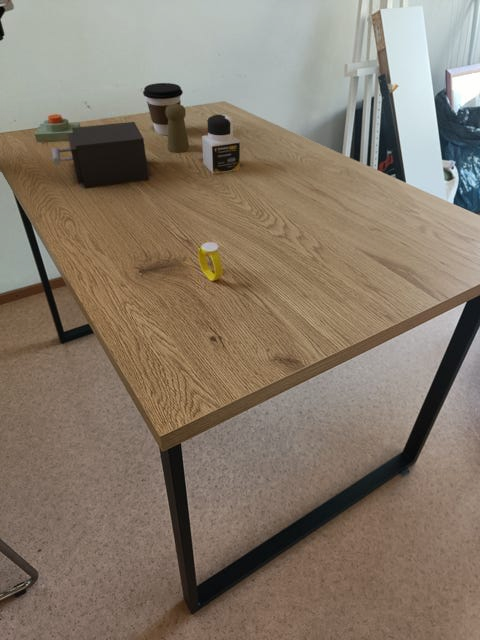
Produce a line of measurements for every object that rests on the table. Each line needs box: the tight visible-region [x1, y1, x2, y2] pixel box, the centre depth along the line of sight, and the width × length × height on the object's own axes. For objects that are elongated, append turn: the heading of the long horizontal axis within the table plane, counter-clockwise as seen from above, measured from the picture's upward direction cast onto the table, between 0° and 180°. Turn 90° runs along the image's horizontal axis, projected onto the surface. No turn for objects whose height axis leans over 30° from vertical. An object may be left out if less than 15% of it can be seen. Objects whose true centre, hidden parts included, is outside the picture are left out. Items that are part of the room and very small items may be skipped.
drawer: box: [51, 133, 84, 185], centre depth 105 cm, size 18×11×8 cm, turn 109°
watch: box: [197, 241, 223, 282], centre depth 75 cm, size 6×3×6 cm, turn 32°
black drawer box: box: [72, 121, 150, 189], centre depth 106 cm, size 15×13×10 cm
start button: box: [47, 113, 63, 124], centre depth 127 cm, size 4×4×2 cm
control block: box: [34, 117, 81, 143], centre depth 128 cm, size 11×9×4 cm
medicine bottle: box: [201, 114, 241, 175], centre depth 109 cm, size 7×7×12 cm
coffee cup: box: [142, 82, 184, 136], centre depth 129 cm, size 11×11×12 cm
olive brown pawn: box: [165, 103, 190, 153], centre depth 119 cm, size 6×6×11 cm
